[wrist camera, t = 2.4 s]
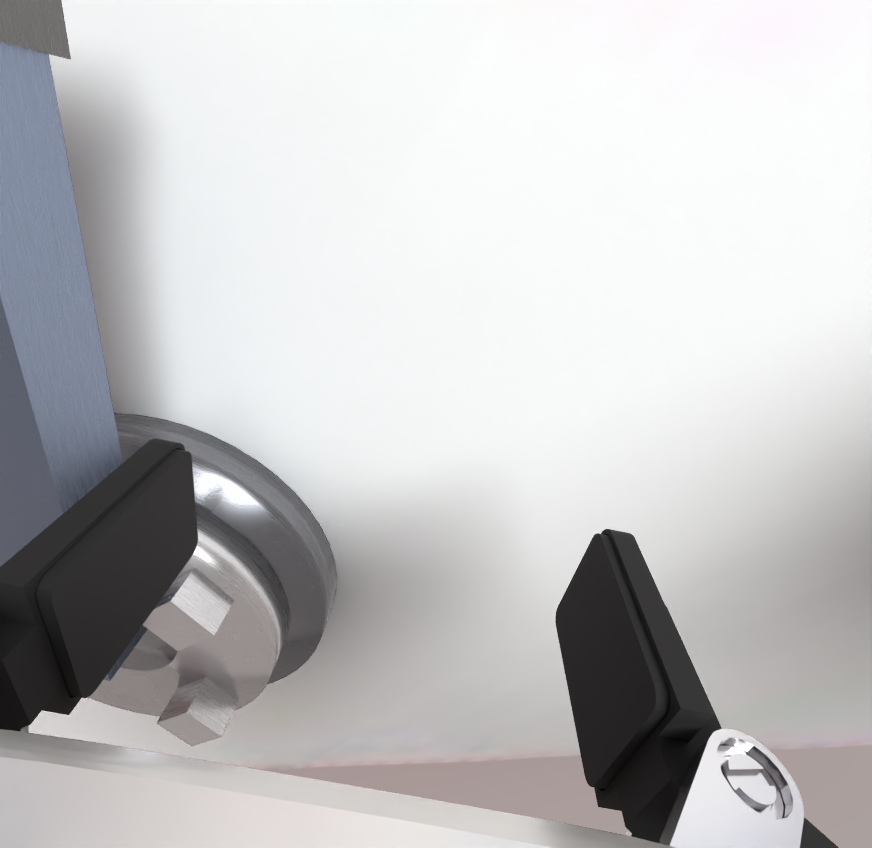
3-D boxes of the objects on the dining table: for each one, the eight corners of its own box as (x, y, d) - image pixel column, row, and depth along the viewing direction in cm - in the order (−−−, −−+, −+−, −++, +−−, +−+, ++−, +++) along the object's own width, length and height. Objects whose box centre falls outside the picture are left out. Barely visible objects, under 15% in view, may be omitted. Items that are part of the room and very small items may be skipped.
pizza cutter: (327, 12, 10) (208, -102, 6) (285, 698, 24) (242, 815, 20) (-264, -129, 10) (-850, -358, 6) (41, 647, 24) (-57, 754, 20)
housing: (353, 461, 19) (337, 496, 17) (324, 679, 27) (311, 721, 25) (-34, 376, 18) (-97, 401, 16) (53, 623, 26) (18, 660, 24)
